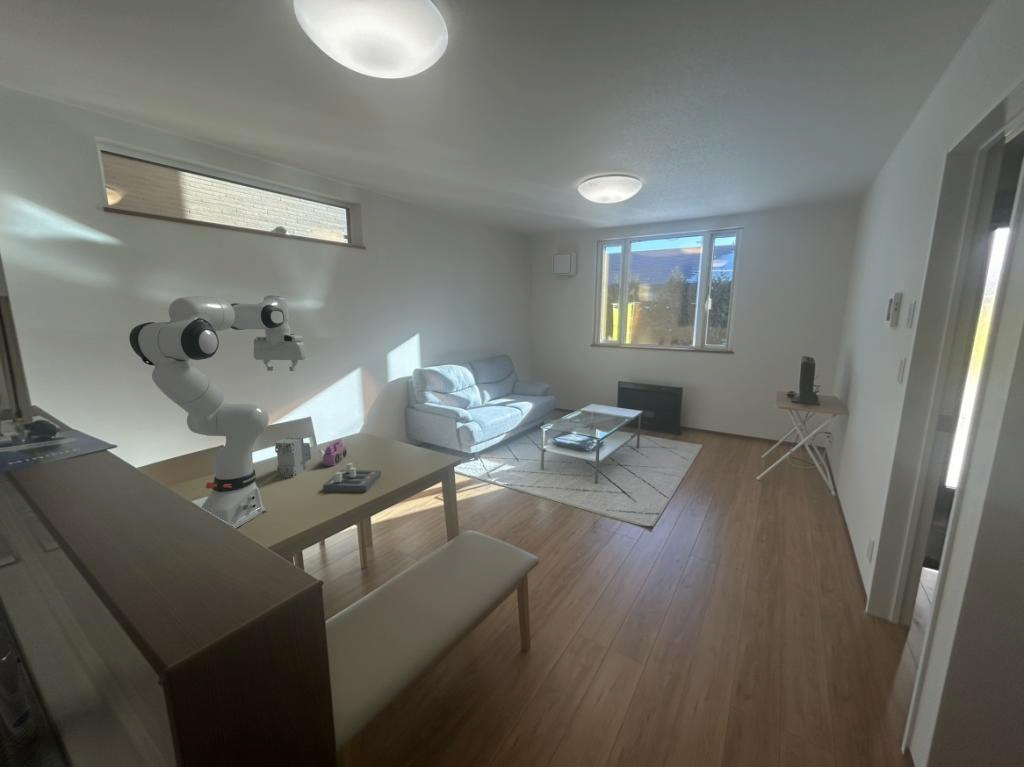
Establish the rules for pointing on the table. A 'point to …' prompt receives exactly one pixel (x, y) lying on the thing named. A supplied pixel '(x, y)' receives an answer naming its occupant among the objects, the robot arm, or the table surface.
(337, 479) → the breaker near
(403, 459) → the table surface
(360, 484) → the panel
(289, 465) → the circuit breaker
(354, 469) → the breaker mid
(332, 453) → the pink toy car
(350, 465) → the breaker far
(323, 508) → the table surface
